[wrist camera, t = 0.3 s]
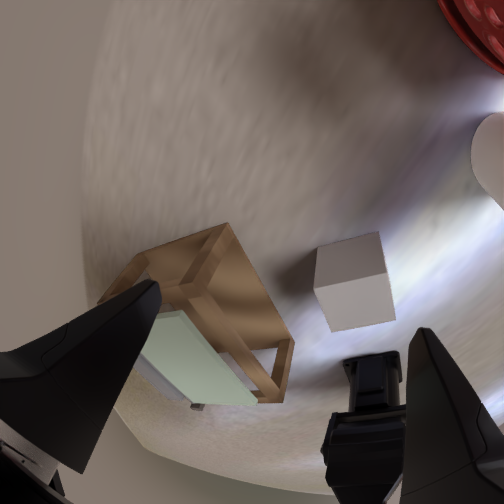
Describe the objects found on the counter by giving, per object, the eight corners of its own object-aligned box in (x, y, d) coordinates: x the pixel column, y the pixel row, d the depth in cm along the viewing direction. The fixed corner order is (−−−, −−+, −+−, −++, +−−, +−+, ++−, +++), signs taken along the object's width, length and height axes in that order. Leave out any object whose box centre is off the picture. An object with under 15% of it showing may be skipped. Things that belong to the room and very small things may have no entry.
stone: (389, 276, 23) (396, 320, 19) (333, 288, 25) (331, 332, 21) (378, 230, 21) (387, 272, 17) (317, 246, 23) (313, 288, 19)
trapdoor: (259, 399, 25) (256, 410, 24) (178, 396, 29) (175, 405, 28) (181, 305, 19) (174, 318, 18) (101, 318, 23) (94, 327, 22)
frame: (294, 342, 31) (279, 415, 24) (211, 350, 35) (186, 410, 28) (228, 222, 24) (183, 297, 17) (137, 253, 28) (88, 314, 22)
